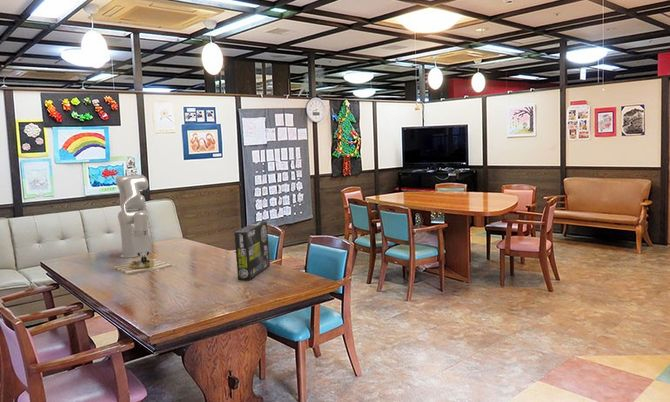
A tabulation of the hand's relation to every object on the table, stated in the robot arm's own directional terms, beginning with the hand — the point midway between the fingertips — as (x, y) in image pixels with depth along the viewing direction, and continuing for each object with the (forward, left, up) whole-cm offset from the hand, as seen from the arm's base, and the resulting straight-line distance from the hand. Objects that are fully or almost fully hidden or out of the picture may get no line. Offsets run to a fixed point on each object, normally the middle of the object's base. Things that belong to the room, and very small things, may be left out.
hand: (144, 263), depth 314 cm
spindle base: (-9, +2, -4) cm, 11 cm away
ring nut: (-7, +2, -3) cm, 8 cm away
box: (+57, +40, -5) cm, 70 cm away
